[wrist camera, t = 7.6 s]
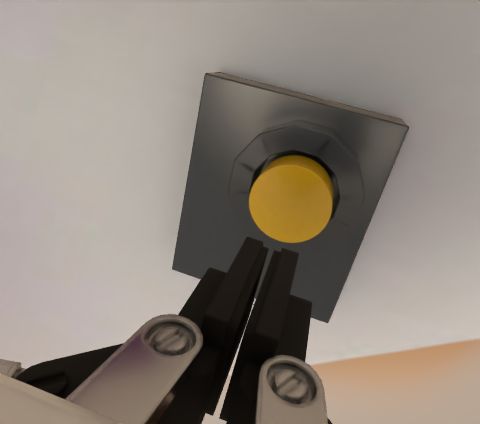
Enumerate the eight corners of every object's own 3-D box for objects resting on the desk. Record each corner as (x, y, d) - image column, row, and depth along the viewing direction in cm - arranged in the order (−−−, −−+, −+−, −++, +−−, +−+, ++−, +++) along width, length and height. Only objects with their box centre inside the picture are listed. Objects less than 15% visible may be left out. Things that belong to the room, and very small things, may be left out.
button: (267, 145, 19) (259, 154, 17) (344, 167, 19) (344, 179, 17) (249, 214, 21) (240, 229, 19) (319, 236, 20) (317, 253, 18)
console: (218, 71, 22) (191, 73, 18) (402, 119, 21) (417, 133, 17) (185, 252, 28) (158, 285, 24) (329, 301, 26) (327, 345, 22)
